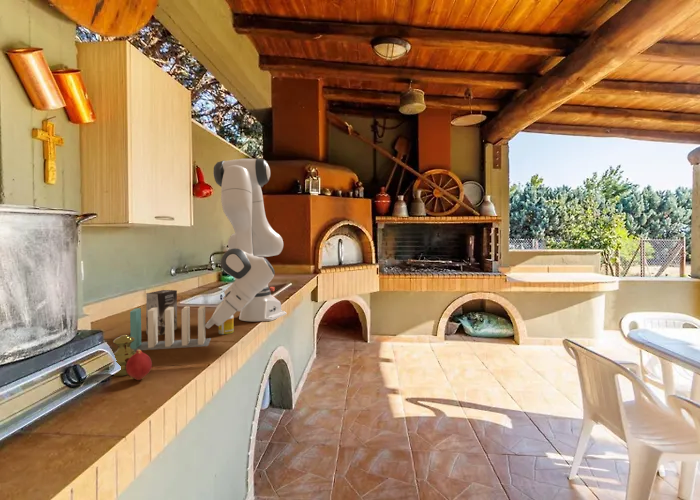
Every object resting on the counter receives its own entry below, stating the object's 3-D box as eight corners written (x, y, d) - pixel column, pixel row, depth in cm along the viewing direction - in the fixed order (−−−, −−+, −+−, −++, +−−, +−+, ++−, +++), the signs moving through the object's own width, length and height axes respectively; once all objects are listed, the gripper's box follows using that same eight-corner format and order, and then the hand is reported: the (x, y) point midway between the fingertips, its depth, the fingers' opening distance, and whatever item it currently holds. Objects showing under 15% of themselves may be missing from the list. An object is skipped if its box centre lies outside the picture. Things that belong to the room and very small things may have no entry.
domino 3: (174, 341, 121) (173, 306, 120) (170, 346, 116) (170, 310, 115) (168, 342, 121) (168, 307, 120) (165, 346, 116) (164, 310, 115)
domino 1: (141, 343, 118) (140, 308, 118) (136, 348, 113) (135, 311, 113) (136, 343, 118) (135, 308, 118) (130, 348, 113) (130, 311, 113)
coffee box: (161, 337, 129) (160, 293, 128) (145, 336, 130) (145, 292, 129) (178, 331, 138) (177, 289, 137) (163, 330, 139) (163, 289, 138)
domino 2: (157, 342, 120) (157, 307, 119) (153, 347, 115) (153, 310, 114) (152, 343, 119) (152, 307, 119) (148, 347, 114) (147, 311, 114)
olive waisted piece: (102, 377, 93) (102, 340, 93) (115, 367, 100) (115, 332, 100) (133, 376, 95) (133, 338, 94) (144, 365, 102) (143, 331, 101)
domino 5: (205, 339, 124) (205, 305, 123) (203, 344, 119) (203, 308, 118) (200, 340, 123) (200, 305, 123) (198, 344, 118) (197, 309, 118)
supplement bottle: (215, 336, 131) (215, 310, 131) (223, 332, 137) (223, 307, 136) (229, 337, 131) (229, 311, 130) (236, 333, 136) (236, 308, 135)
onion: (126, 377, 93) (126, 347, 93) (151, 373, 96) (151, 344, 96) (125, 386, 88) (125, 354, 88) (152, 381, 91) (151, 351, 91)
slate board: (211, 340, 126) (211, 338, 126) (207, 348, 117) (207, 345, 117) (132, 345, 120) (132, 342, 119) (122, 354, 111) (122, 351, 111)
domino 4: (189, 340, 122) (189, 306, 122) (187, 345, 117) (186, 309, 117) (184, 341, 122) (184, 306, 121) (181, 345, 117) (181, 309, 116)
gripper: (232, 286, 132) (204, 313, 130) (228, 295, 113) (195, 327, 111) (244, 297, 134) (217, 324, 132) (242, 309, 114) (210, 341, 112)
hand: (206, 326), depth 121 cm, fingers closed
